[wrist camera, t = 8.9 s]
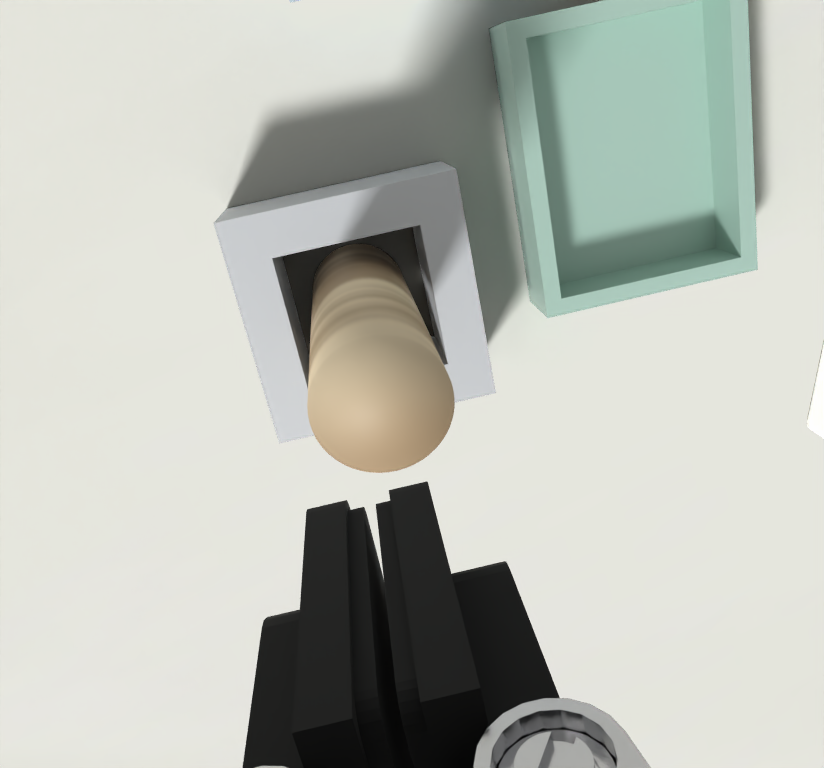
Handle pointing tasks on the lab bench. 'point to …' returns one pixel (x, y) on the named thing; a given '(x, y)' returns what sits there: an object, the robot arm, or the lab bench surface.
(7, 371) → the lab bench surface
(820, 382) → the jar
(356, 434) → the dowel
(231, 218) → the socket block
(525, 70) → the tray
